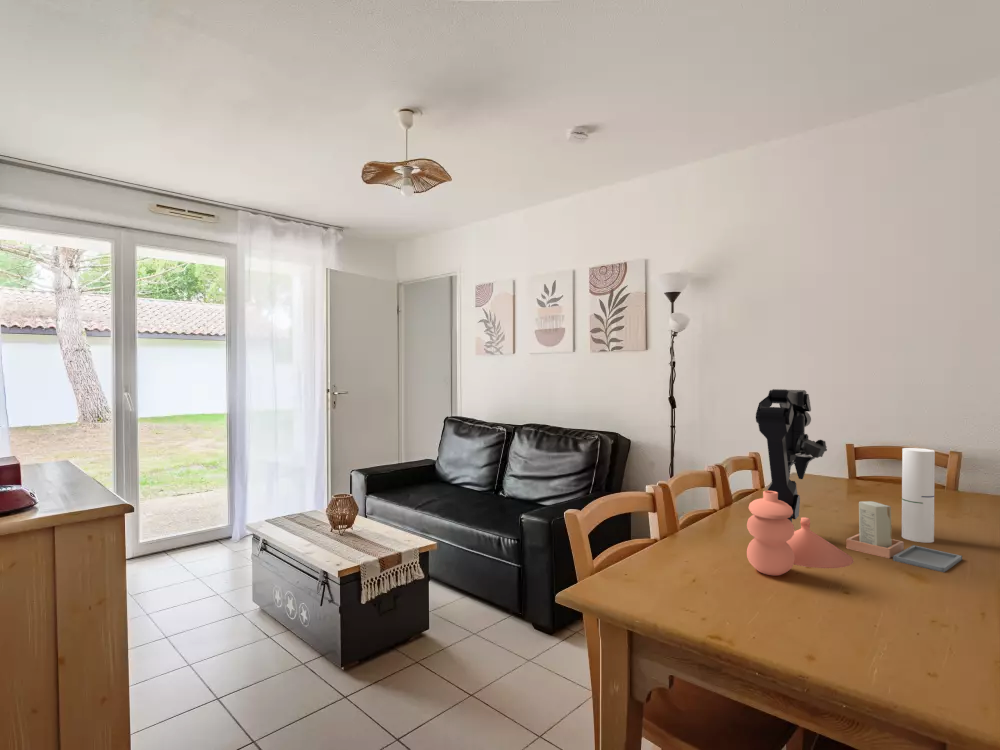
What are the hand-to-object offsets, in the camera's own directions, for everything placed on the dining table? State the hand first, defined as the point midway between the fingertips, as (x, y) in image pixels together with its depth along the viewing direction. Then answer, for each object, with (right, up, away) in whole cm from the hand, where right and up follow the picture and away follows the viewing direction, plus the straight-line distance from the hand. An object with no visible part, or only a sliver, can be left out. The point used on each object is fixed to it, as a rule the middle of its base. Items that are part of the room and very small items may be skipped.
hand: (793, 480), depth 165 cm
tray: (+15, -13, -33) cm, 38 cm away
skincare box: (+8, -14, -24) cm, 29 cm away
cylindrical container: (+26, -13, -15) cm, 33 cm away
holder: (+8, -13, -24) cm, 29 cm away
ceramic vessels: (-17, -14, -31) cm, 38 cm away
